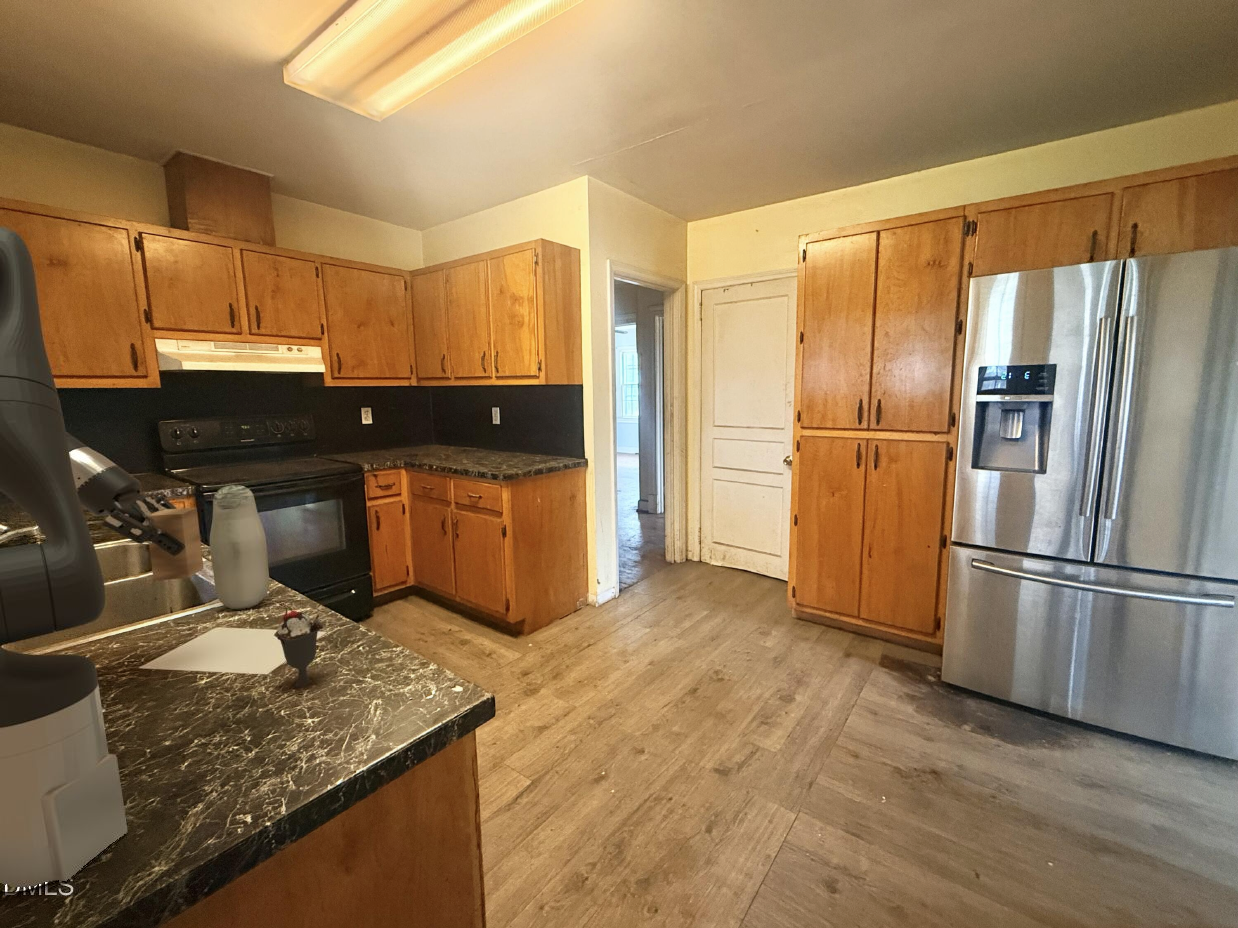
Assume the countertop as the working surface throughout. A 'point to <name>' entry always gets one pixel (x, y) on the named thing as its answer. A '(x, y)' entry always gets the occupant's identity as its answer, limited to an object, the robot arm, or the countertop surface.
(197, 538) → the walnut block
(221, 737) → the countertop surface
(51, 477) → the robot arm
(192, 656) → the cream sheet of paper
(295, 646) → the sundae
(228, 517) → the glass bottle
